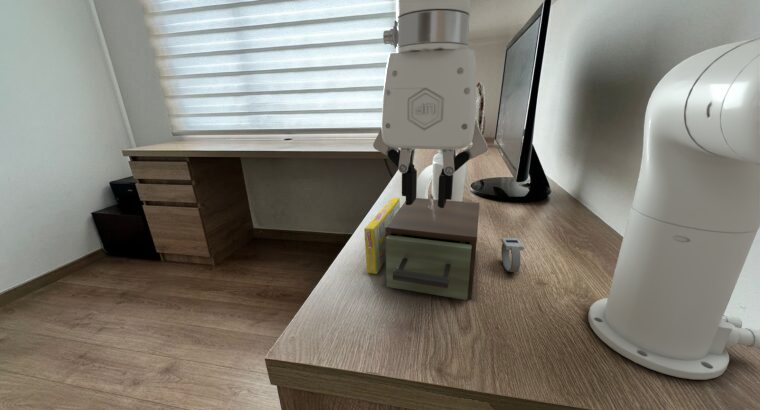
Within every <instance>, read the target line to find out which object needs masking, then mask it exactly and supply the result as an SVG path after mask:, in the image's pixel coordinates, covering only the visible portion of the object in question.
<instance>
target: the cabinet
mask: <svg viewBox="0 0 760 410" xmlns="http://www.w3.org/2000/svg"><path fill="white" fill-rule="evenodd" d="M479 216H480V202H471V201H462V202H460V201H448V200H446V204H445V206H444V208H439V207H438V200H435V199H433V198H428V199H422V198H417V197H416V199H415V201H414V202H413V204H411V205H406V200H404V202H403V203H402V205H400V209H399V210H398V211H397V213H396V214H395V215H394V217H393V218H392V219H391V221H390V222H389V223H388V225H387V226H386V227H385V240H386V238H387V236H388V235H391V236H396V234H401V235H410V236H418V237H427V238H436V239H445V240H454V241H462V242H468V244H469V245H472V248H471V260H470V272H469V283H468V295H467V300H472V298H473V287H474V276H475V265H476V254H477V244H478V232H479V231H478V230H479ZM385 285H386V286H387V278H386V277H385Z"/></svg>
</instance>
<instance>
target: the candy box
mask: <svg viewBox="0 0 760 410" xmlns="http://www.w3.org/2000/svg"><path fill="white" fill-rule="evenodd" d="M400 208H401V201H400V197H391V198H390V200H389V201H387V203H386V204H384V206H383V207H382V208H381V210H379V211H378V213H377V214H376V215H375V216H374V217H373V218H372V220H371V221H370V222H368V224H367V225H366V226H365V227H364V230H363V233H364V244H365V245H364V246H365V260H366V272H367V273H368V274H374V275H377V274H378V273H379V272H380V271H381V268H382V267H383V265H384V263H386V240H385V227H386V226H387V225H388V223H389V222H390V221H391V219H392V218H393V217H394V215H395V214H396V213H397V211H398V210H399V209H400Z"/></svg>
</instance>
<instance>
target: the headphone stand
mask: <svg viewBox="0 0 760 410" xmlns="http://www.w3.org/2000/svg"><path fill="white" fill-rule="evenodd" d="M432 175H433V163H432V164H429V165H428V166H427V167H425V168H424V169H423V170H422V171H421V172H420V174H419V175H418V176H417V190H416V198H422V199H429V188H430V186H431V184H432Z"/></svg>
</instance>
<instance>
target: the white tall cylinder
mask: <svg viewBox="0 0 760 410" xmlns="http://www.w3.org/2000/svg"><path fill="white" fill-rule="evenodd" d="M467 162H468V161H467ZM467 162H466V163H465V164H464V165H462V166H461V167H460V168H459V169H458V170H457V171H455V172H454V174H453V187H452V198H451V200H448V201H460V202H464V193H465V187H466V181H467ZM432 164H433V175H432V181H431V185H432V184H433V196H432V197H433V198H432V199H435V200H438V189H439V176H440V174H441V172H442V168H443V167H444V166H443V159H437V160H435V161H434V162H433V161H432Z"/></svg>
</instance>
